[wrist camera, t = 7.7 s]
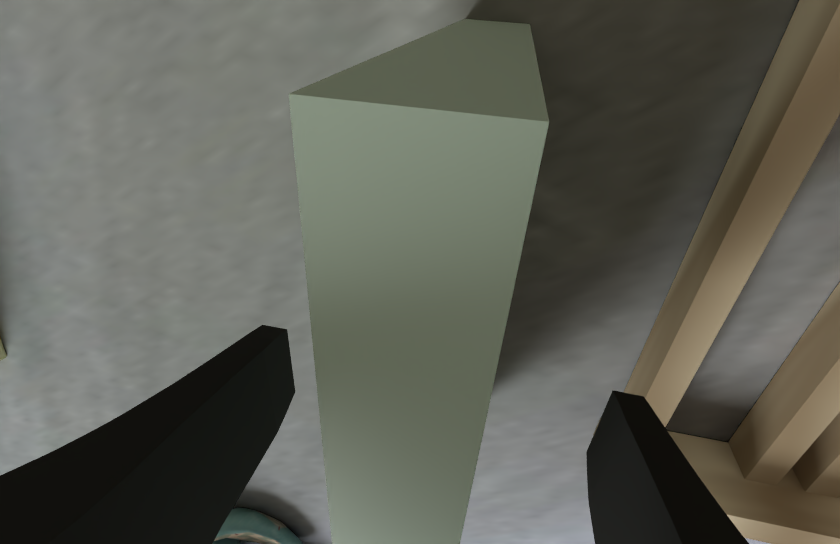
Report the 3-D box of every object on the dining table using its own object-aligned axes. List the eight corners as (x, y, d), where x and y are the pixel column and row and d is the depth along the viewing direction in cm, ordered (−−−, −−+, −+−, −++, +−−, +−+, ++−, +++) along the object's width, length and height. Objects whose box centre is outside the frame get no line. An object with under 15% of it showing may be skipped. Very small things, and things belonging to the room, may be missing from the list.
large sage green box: (530, 23, 11) (548, 122, 3) (464, 407, 18) (416, 746, 10) (465, 19, 11) (289, 94, 3) (427, 399, 19) (349, 726, 10)
